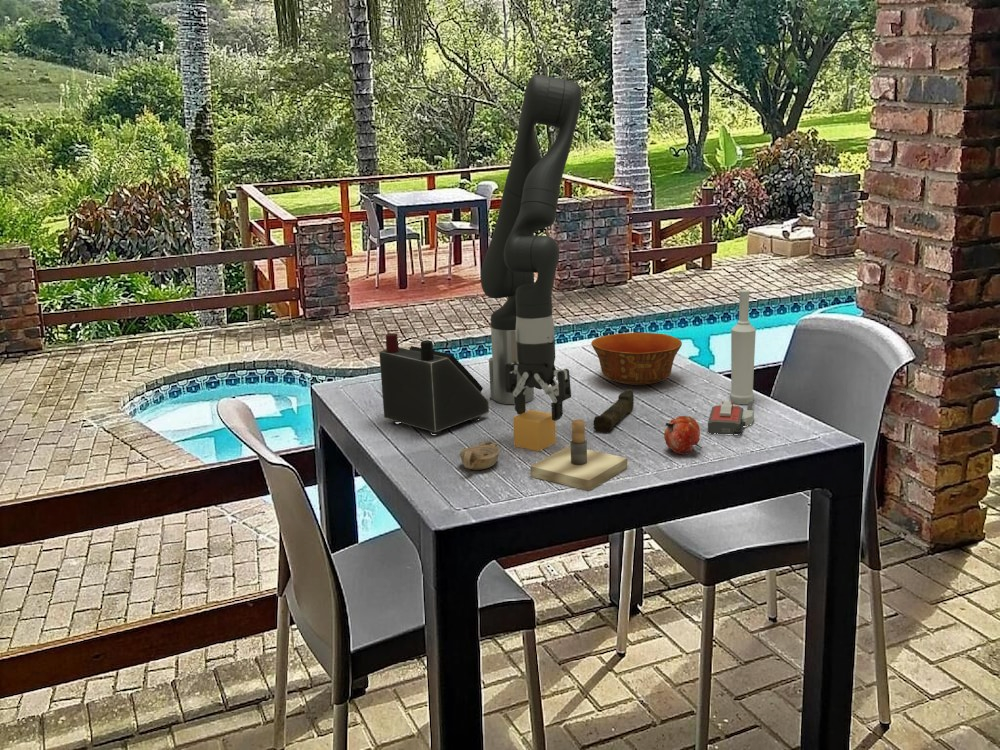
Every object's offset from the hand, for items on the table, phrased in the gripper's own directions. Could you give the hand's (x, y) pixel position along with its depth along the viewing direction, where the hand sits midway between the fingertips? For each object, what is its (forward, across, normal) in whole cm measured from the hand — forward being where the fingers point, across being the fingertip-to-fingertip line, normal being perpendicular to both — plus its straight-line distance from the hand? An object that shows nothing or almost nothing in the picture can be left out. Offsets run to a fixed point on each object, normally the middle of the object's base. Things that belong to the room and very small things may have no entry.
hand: (538, 416), depth 210 cm
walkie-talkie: (+7, +27, +32) cm, 42 cm away
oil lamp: (+6, -3, -16) cm, 17 cm away
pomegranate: (+7, +26, +11) cm, 29 cm away
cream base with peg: (+6, +15, -9) cm, 18 cm away
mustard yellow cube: (+6, -1, 0) cm, 6 cm away
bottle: (+6, +23, +45) cm, 51 cm away
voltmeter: (+6, -28, +1) cm, 29 cm away
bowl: (+6, -5, +48) cm, 48 cm away
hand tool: (+6, +5, +21) cm, 23 cm away
